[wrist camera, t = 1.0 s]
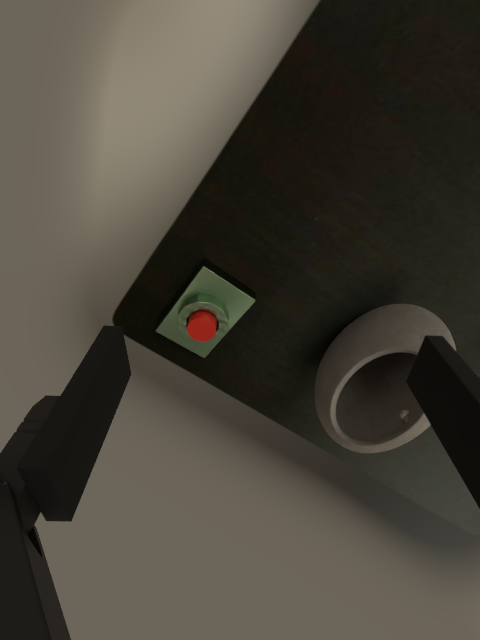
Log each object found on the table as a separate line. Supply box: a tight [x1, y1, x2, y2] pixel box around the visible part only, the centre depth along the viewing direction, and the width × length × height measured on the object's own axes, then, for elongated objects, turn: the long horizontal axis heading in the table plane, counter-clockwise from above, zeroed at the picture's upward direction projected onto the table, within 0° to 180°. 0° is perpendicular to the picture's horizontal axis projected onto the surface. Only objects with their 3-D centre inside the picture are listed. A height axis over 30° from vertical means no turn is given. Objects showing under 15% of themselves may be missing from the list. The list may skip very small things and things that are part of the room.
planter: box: [314, 304, 456, 453], centre depth 40 cm, size 18×7×19 cm, turn 143°
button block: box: [156, 259, 256, 358], centre depth 44 cm, size 12×8×4 cm, turn 143°
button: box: [187, 311, 217, 342], centre depth 42 cm, size 4×4×2 cm
